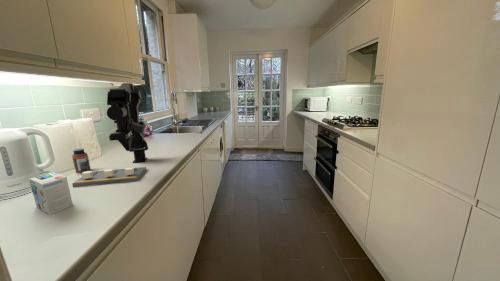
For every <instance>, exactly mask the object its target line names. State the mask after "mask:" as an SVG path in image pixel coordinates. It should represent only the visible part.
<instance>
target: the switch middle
mask: <svg viewBox="0 0 500 281" xmlns="http://www.w3.org/2000/svg"><path fill="white" fill-rule="evenodd" d="M113 169H114V168H111V169H104V170H105V171H104V177H111V176H113V175H114V172H113Z"/></svg>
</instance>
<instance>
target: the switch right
mask: <svg viewBox="0 0 500 281" xmlns="http://www.w3.org/2000/svg"><path fill="white" fill-rule="evenodd" d="M92 171H93V170H88V171H86V172H81V177H83V179H88V178H92V177H93V174H92Z"/></svg>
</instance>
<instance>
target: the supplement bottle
mask: <svg viewBox="0 0 500 281" xmlns="http://www.w3.org/2000/svg"><path fill="white" fill-rule="evenodd" d="M71 157H72V162H73V165H74V170H75V172H76V173H83V172H86V171H91V166H90V160H89V156H88V153H87V152H85V149H84V148H75V149H73V154H72V155H71Z"/></svg>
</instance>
